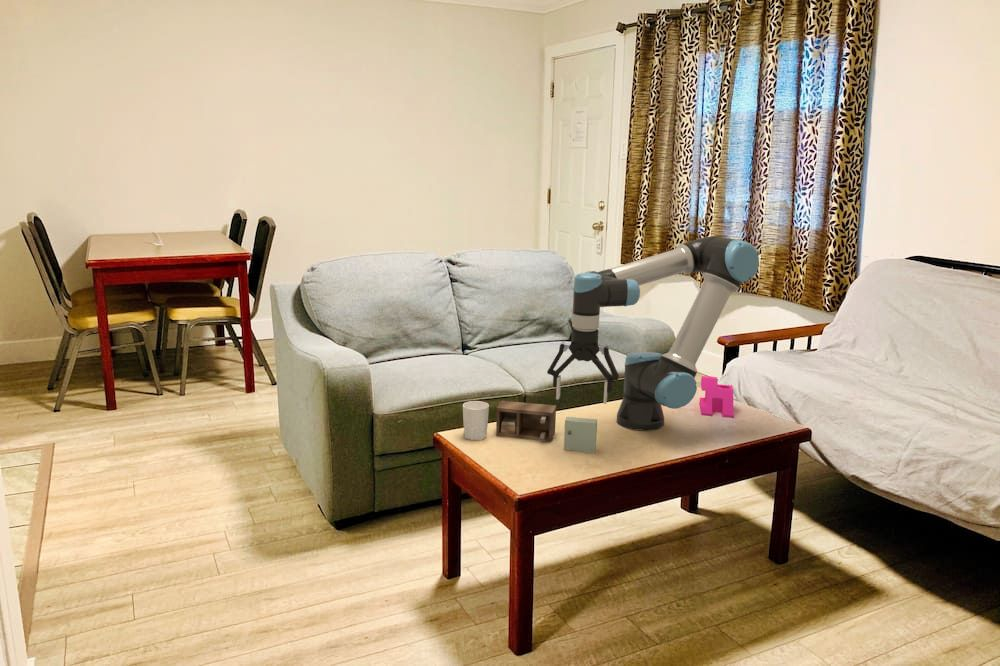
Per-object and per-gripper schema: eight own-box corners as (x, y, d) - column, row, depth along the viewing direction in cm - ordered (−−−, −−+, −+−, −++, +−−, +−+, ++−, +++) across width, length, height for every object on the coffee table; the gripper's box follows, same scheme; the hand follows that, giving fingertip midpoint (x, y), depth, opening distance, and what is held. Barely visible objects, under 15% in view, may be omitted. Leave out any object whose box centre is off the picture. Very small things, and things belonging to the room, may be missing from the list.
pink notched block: (699, 404, 266) (701, 376, 264) (729, 406, 264) (732, 378, 262) (701, 415, 255) (703, 386, 252) (733, 418, 253) (736, 388, 250)
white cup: (489, 432, 235) (490, 401, 233) (486, 441, 228) (487, 410, 225) (464, 431, 236) (464, 400, 234) (460, 440, 228) (460, 408, 226)
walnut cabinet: (555, 433, 236) (556, 405, 233) (550, 444, 227) (551, 415, 224) (501, 428, 239) (501, 400, 237) (494, 438, 230) (494, 410, 228)
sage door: (595, 448, 224) (597, 419, 222) (594, 453, 220) (595, 424, 218) (565, 445, 226) (566, 416, 224) (563, 450, 222) (564, 421, 220)
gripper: (630, 328, 216) (626, 400, 221) (543, 322, 222) (540, 392, 226) (629, 334, 209) (624, 408, 214) (539, 327, 214) (536, 400, 219)
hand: (581, 400), depth 220 cm, fingers open, 13 cm apart
